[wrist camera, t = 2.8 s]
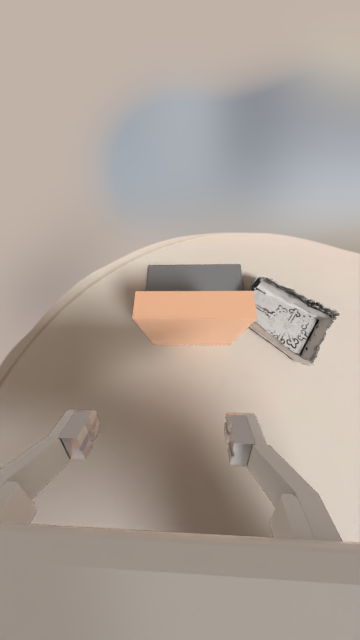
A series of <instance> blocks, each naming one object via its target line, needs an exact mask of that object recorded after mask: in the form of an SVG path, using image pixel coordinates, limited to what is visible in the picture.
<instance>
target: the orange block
mask: <svg viewBox="0 0 360 640" xmlns="http://www.w3.org/2000/svg"><path fill="white" fill-rule="evenodd" d="M132 319H133V320H134V321H135V322H136V323H137V325H138V326H139V327H140V328H141V329H142V331H143V332H144V333H145V334H146V335H147V337H148V338H149V339H150V340H151V341H152V342H153V344H154V345H231V344H232V343H233V342H234V341H235V340H236V339H237V338H238V337H239V336H240V335H241V334H242V333H243V332H244V331H245V330H246V329H247V328H248V327H249V326H250V325H251V324H252V323H254V322H255V321H256V320H257V312H256V305H255V298H254V291H135V300H134V308H133V316H132Z"/></svg>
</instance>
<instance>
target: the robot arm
mask: <svg viewBox="0 0 360 640" xmlns="http://www.w3.org/2000/svg"><path fill="white" fill-rule="evenodd" d="M96 416H97V412H96V410H78V409H69V410H67V411H66V412H65V413H64V415H63V416H62V418H61V419H60V420H59V422H58V423H57V425H56V426H55V427H54V429H53V430H52V432H51V433H50V435H49V436H48V437H47V438H44V439H42V440H41V441H39V442H38V443H37V444H35V445H34V446H33V447H31V448H30V449H28V450H27V451H26V452H24V453H23V454H21V455H20V456H19V457H17V458H16V459H14V460H13V461H12V462H10V463H9V464H7V465H6V466H5V467H3V468H2V469H0V640H360V542H343V541H342V539H341V537H340V535H339V533H338V531H337V529H336V527H335V525H334V523H333V521H332V519H331V517H330V515H329V513H328V512H327V510H326V508H325V506H324V504H323V502H322V500H321V498H320V496H319V494H318V493H317V492H316V491H315V490H314V489H313V488H312V487H311V486H310V485H309V484H308V483H307V482H306V481H305V480H304V479H303V478H302V477H301V476H300V475H299V474H298V473H297V472H296V471H295V470H294V469H293V468H292V467H291V466H290V465H289V464H288V463H287V462H286V461H285V460H284V459H283V458H282V457H281V456H280V455H279V454H278V453H277V452H276V451H275V450H274V449H273V448H272V447H271V446H270V445H267V444H266V441H265V439H264V436H263V434H262V431H261V428H260V426H259V423H258V421H257V418H256V416H255V414H244V413H226V417H225V418H226V422H225V425H224V433H225V439H226V442H227V444H228V456H229V461H230V465H236V466H247V468H248V469H249V471H250V472H251V474H252V475H253V476H254V478H255V479H256V481H257V482H258V483H259V485H260V486H261V488H262V489H263V491H264V492H265V493H266V495H267V496H268V498H269V499H270V501H271V502H272V503H273V505H274V506H275V508H276V509H275V511H274V513H273V515H272V517H271V520H270V522H269V523H270V527H271V531H272V534H273V538H271V537H253V536H235V535H217V534H199V533H181V532H164V531H146V530H128V529H110V528H92V527H74V526H56V525H38V524H30V523H31V521H32V519H33V518H34V516H35V514H36V512H37V506H36V505H35V504H34V503H33V501H32V499H33V498H34V497H35V496H36V495H37V494H38V493H39V492H40V491H41V490H42V489H43V488H44V487H45V486H46V485H47V484H48V483H49V482H50V481H51V480H52V479H53V478H54V477H55V476H56V475H57V474H58V473H59V472H60V471H61V470H62V469H63V468H64V467H65V466H66V465H67V463H68V462H69V461H70V460H86V458H87V456H88V454H89V452H90V450H91V448H92V441H93V440H94V439H95V438H96V437H97V435H98V432H99V428H100V421H99V419H98V418H96Z"/></svg>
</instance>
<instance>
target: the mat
mask: <svg viewBox="0 0 360 640" xmlns="http://www.w3.org/2000/svg"><path fill="white" fill-rule="evenodd" d="M146 291H244V290H243V282H242V273H241V265H240V264H235V265H149V270H148V280H147V290H146Z"/></svg>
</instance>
